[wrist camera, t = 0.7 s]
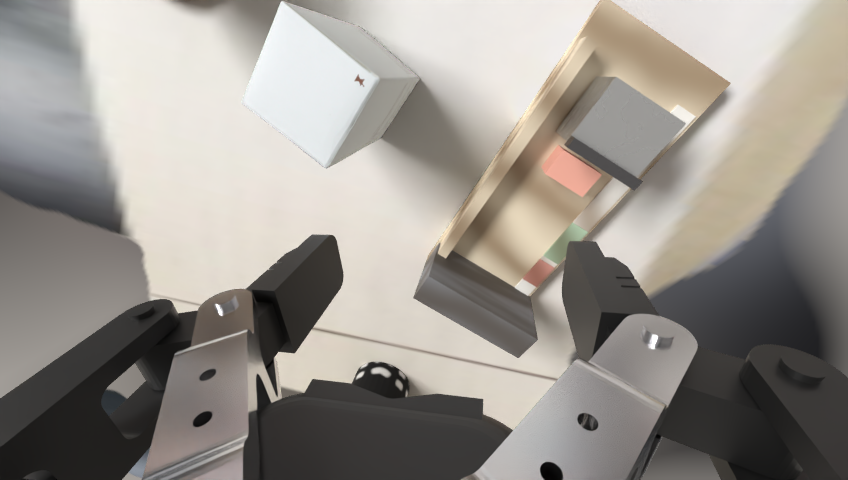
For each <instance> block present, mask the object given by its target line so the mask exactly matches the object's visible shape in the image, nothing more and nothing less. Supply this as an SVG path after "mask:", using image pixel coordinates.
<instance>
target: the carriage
mask: <svg viewBox="0 0 848 480" xmlns="http://www.w3.org/2000/svg"><path fill="white" fill-rule="evenodd" d="M685 125H686V123H685V122H683V121H682V120H680V119H679V118H677V117H676V116H674V115H673V114H671V113H670V112H668V111H667V110H665V109H664V108H662V107H661V106H659V105H658V104H656V103H655V102H653V101H652V100H650V99H649V98H648V97H646V96H645V95H643V94H642V93H640V92H639V91H637V90H636V89H634V88H633V87H631V86H630V85H628V84H627V83H625V82H624V81H622V80H621V79H619V78H618V77H595V79H594V80H593V82H592V83H591V84H590V86H589V87H588V88H587V90H586V91H585V92H584V94H583V95H582V96H581V98H580V99H579V100H578V102H577V103H576V104H575V106H574V107H573V109H572V110H571V111H570V113H569V114H568V115H567V117H566V118H565V119H564V121H563V122H562V123H561V125H560V126H559V127H558V129H557V130H556V132H557V133H558V134H559V135H560V136H561V137H563V138H564V139H565V140H566V141H567V142H566V143H565V144H564V145H565V146H566V147H567V148H569V149H570V150H572V151H573V152H575V153H576V154H578V155H580V156H581V157H583V158H584V159H586V160H587V161H589V162H590V163H592V164H594V165H595V166H597V167H598V168H600V169H601V170H603V171H605V172H606V173H608V174H609V175H611V176H612V177H614V178H616V179H617V180H619V181H620V182H622V183H623V184H625V185H626V186H628V187H630V188H631V189H633V190H635V189H636V188H637V187H638V186H639V185H640V184H641V183H642V182H643V181H641V180H640V179H638V178H637V176H638V175H639V174H640V173H641V172H642V171H643V170H644V169H645V167H646V166H647V165H648V164H649V163H650V162H651V161H652V160H653V159H654V158H655V157H656V156H657V155H658V154H659V152H660V151H661V150H662V149H663V148H664V147H665V146H666V145H667V144H668V143H669V142H670V141H671V140H672V139H673V137H674V136H675V135H676V134H677V133H678V132H679V131H680V130H681V129H682V128H683V127H684V126H685Z"/></svg>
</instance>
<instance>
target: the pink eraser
mask: <svg viewBox="0 0 848 480" xmlns="http://www.w3.org/2000/svg"><path fill="white" fill-rule="evenodd" d="M541 168H542V169H543V171H544V173H545V174H546V175H548V176H549V177H551V178H553V179H554V180H556V181H557V182H559V183H560V184H562V185H564V186H565V187H567V188H568V189H570V190H572V191H573V192H575V193H576V194H578V195H580V196H581V197H583V196H584V195H585V194H586V193H587V191H588V190H589V189H590V188H591V187H592V186H593V185H594V183H595V182H596V181H597V180H598V179H599V178H600V177H601V175H602V174H601V173H600V172H599V171H597V170H596V169H595V168H594V167H592V166H591V165H589V164H588V163H586V162H585V161H583V160H581V159H580V158H578V157H577V156H575V155H574V154H572V153H571V152H569V151H567V150H566V149H564V148H563V147H561V146H560V145H558V146H557V147H556V148H555V150H554V151H553V152H552V154H551V155H550V156H549V158H548V159H547V160H546V162H545V163H544V164H543V165H542V167H541Z"/></svg>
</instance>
